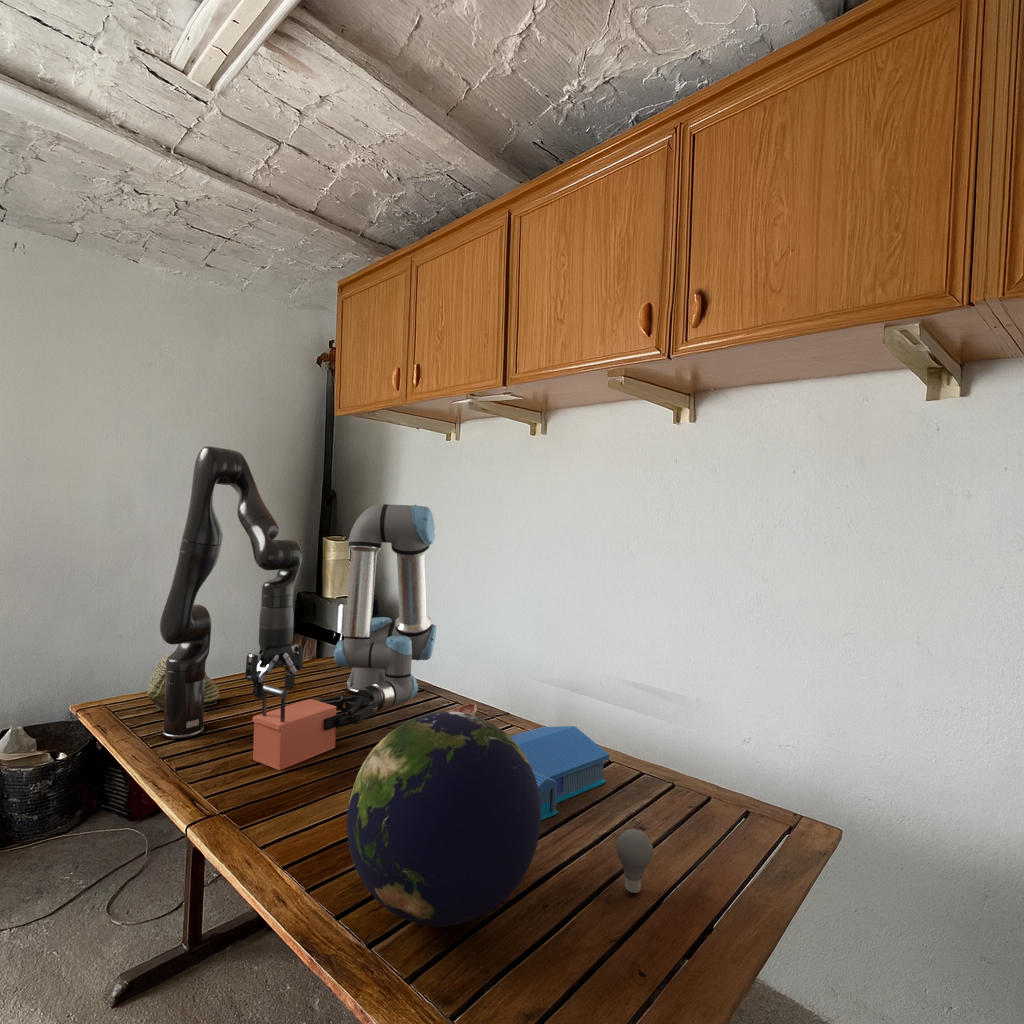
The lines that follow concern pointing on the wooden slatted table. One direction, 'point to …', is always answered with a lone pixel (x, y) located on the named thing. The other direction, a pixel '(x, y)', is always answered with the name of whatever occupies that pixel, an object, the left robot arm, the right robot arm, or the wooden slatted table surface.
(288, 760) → the chest
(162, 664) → the fossil
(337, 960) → the wooden slatted table surface
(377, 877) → the globe
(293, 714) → the lid
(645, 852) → the light bulb
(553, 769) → the model building
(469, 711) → the anatomical model
